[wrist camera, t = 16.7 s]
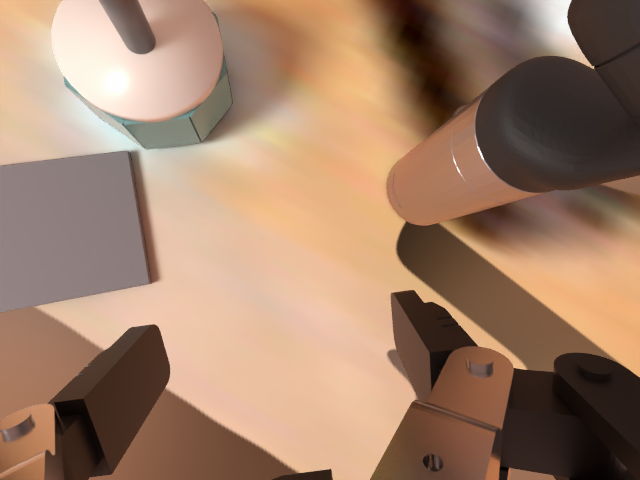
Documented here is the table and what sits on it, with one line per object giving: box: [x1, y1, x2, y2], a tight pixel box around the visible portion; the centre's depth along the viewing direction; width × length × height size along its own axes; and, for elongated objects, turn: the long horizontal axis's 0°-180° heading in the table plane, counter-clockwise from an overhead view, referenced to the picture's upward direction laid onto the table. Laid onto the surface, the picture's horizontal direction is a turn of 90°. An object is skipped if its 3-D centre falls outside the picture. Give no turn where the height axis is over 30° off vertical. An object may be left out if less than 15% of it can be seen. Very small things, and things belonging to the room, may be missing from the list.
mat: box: [0, 151, 151, 313], centre depth 34 cm, size 14×14×1 cm
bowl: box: [64, 12, 233, 149], centre depth 34 cm, size 14×14×7 cm
